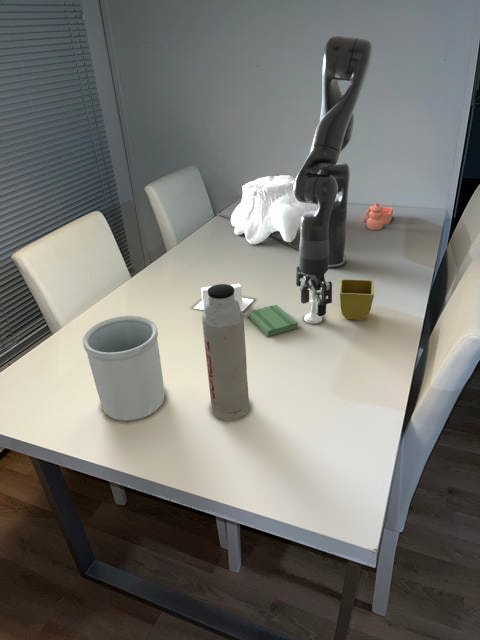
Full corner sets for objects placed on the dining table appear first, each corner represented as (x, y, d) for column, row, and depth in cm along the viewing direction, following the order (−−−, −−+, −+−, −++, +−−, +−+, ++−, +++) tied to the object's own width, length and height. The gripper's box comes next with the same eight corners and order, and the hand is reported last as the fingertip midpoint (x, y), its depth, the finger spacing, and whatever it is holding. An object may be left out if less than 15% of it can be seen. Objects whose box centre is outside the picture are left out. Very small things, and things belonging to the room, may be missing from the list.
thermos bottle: (212, 421, 100) (198, 300, 86) (211, 397, 107) (198, 281, 93) (251, 418, 100) (243, 296, 86) (247, 394, 107) (240, 278, 93)
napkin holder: (192, 308, 144) (190, 291, 141) (210, 292, 153) (209, 275, 150) (238, 316, 138) (237, 298, 135) (254, 299, 147) (253, 282, 144)
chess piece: (323, 316, 136) (325, 283, 131) (320, 324, 132) (321, 291, 127) (306, 314, 137) (306, 281, 132) (302, 322, 133) (302, 289, 128)
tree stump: (266, 220, 226) (258, 170, 217) (338, 219, 204) (332, 164, 195) (213, 251, 199) (201, 195, 190) (290, 254, 177) (280, 192, 168)
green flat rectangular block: (248, 317, 137) (248, 311, 137) (276, 309, 140) (276, 304, 140) (267, 336, 128) (267, 330, 127) (297, 327, 131) (297, 322, 130)
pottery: (369, 215, 210) (371, 192, 205) (392, 217, 206) (394, 194, 201) (361, 229, 196) (362, 205, 191) (385, 231, 192) (387, 206, 187)
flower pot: (371, 324, 130) (374, 294, 126) (338, 322, 132) (339, 293, 127) (370, 309, 138) (373, 280, 133) (339, 307, 139) (340, 278, 135)
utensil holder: (170, 416, 102) (159, 345, 93) (98, 429, 100) (79, 358, 91) (165, 376, 115) (154, 311, 106) (100, 387, 112) (84, 321, 104)
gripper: (342, 259, 120) (339, 316, 128) (312, 241, 132) (311, 295, 140) (316, 265, 118) (314, 323, 126) (287, 247, 129) (288, 301, 137)
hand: (312, 308), depth 133 cm, fingers open, 8 cm apart
